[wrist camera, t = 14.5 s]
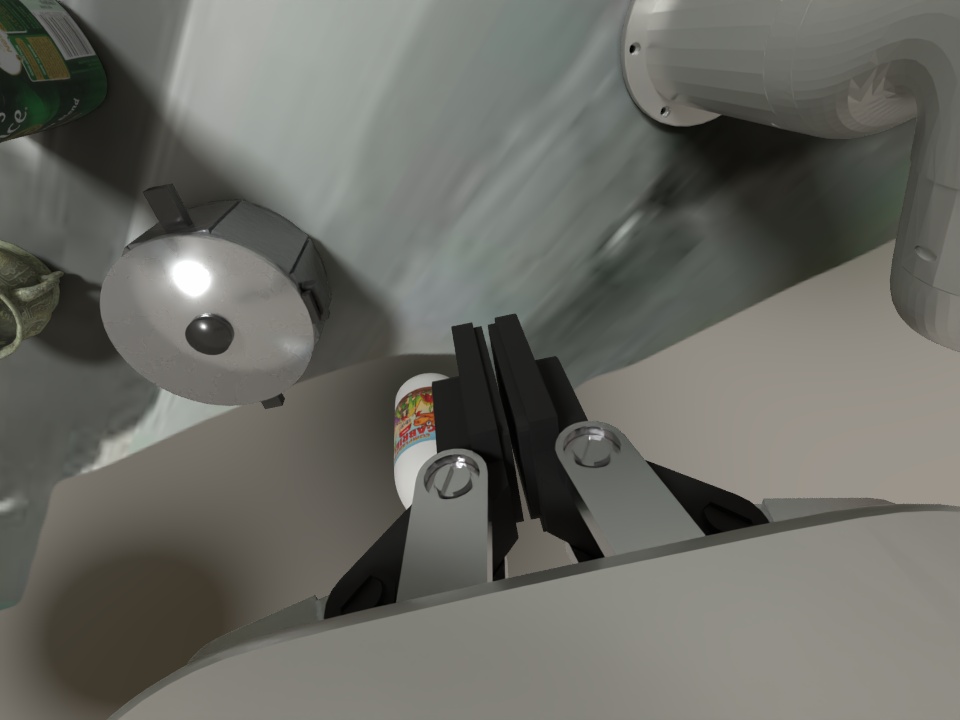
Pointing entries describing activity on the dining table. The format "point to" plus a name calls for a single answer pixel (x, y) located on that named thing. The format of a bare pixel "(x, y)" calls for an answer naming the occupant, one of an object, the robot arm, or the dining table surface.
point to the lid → (209, 318)
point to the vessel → (24, 296)
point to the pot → (245, 241)
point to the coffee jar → (44, 69)
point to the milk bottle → (413, 432)
